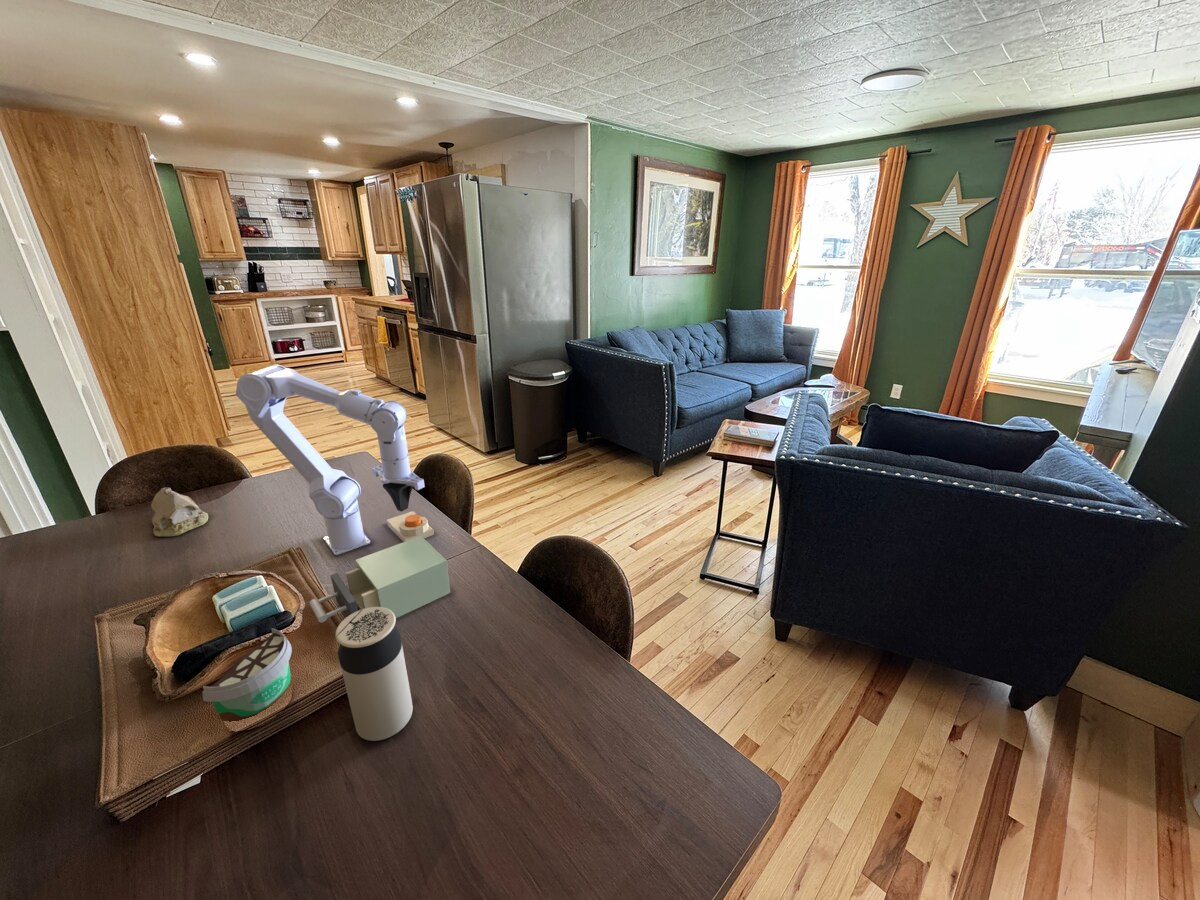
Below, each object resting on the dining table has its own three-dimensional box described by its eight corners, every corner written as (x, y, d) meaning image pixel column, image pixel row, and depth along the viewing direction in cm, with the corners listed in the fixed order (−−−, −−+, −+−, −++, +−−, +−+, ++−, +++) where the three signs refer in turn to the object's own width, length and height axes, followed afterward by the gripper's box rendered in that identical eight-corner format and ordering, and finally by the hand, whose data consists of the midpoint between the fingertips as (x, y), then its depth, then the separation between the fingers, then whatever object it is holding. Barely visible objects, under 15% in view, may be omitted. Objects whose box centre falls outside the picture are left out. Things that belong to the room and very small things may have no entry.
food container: (256, 750, 66) (237, 698, 63) (219, 741, 68) (198, 689, 64) (320, 679, 78) (308, 632, 74) (288, 672, 79) (274, 625, 75)
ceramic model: (217, 522, 121) (205, 487, 117) (161, 542, 112) (147, 505, 108) (194, 506, 128) (182, 473, 124) (140, 524, 119) (126, 489, 115)
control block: (387, 525, 122) (385, 513, 120) (413, 516, 126) (412, 504, 125) (406, 545, 114) (404, 533, 112) (434, 535, 118) (432, 523, 117)
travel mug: (424, 703, 74) (409, 613, 67) (387, 750, 67) (367, 653, 60) (383, 688, 76) (364, 599, 69) (343, 732, 69) (319, 637, 62)
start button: (403, 523, 117) (402, 517, 116) (417, 518, 119) (416, 512, 119) (409, 529, 114) (408, 523, 114) (423, 524, 117) (423, 518, 116)
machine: (383, 624, 90) (377, 589, 86) (361, 592, 98) (355, 559, 95) (450, 592, 98) (446, 560, 95) (425, 566, 106) (421, 535, 103)
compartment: (326, 644, 83) (319, 616, 81) (309, 612, 91) (302, 585, 88) (421, 600, 94) (417, 574, 92) (399, 575, 102) (395, 550, 99)
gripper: (357, 455, 106) (367, 508, 111) (403, 469, 100) (411, 525, 105) (384, 445, 111) (392, 496, 117) (428, 458, 105) (435, 511, 110)
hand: (402, 509), depth 111 cm, fingers closed
